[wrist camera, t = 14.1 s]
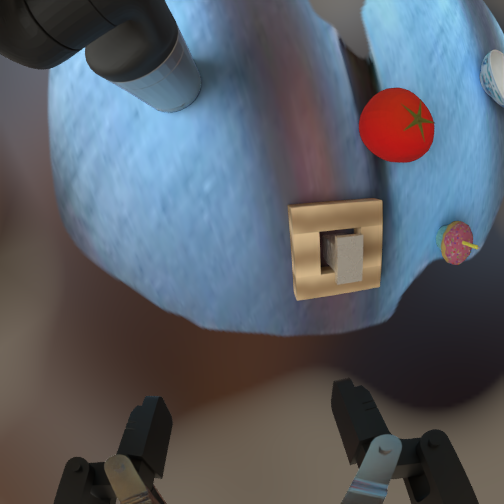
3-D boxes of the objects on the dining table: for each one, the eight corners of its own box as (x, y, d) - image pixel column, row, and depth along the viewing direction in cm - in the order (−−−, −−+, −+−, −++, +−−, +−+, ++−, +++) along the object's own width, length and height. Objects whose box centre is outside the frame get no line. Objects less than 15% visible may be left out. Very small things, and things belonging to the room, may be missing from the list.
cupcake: (423, 240, 44) (462, 260, 33) (444, 207, 42) (486, 220, 31) (441, 264, 46) (478, 287, 35) (462, 233, 44) (500, 250, 33)
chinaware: (461, 49, 31) (482, 41, 24) (494, 63, 31) (513, 59, 24) (477, 108, 36) (501, 106, 28) (507, 117, 36) (528, 117, 28)
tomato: (387, 175, 40) (433, 181, 28) (336, 140, 39) (372, 132, 26) (410, 123, 38) (456, 116, 25) (362, 87, 36) (401, 65, 23)
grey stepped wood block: (321, 226, 43) (337, 237, 36) (344, 223, 43) (363, 235, 36) (323, 266, 45) (337, 284, 38) (344, 263, 45) (362, 280, 38)
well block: (287, 205, 41) (291, 207, 39) (373, 198, 42) (382, 200, 39) (293, 292, 46) (297, 300, 43) (372, 280, 46) (379, 286, 43)
